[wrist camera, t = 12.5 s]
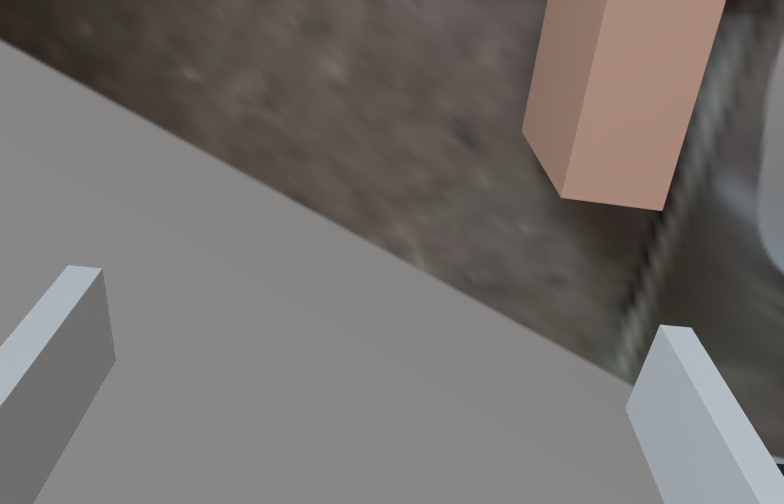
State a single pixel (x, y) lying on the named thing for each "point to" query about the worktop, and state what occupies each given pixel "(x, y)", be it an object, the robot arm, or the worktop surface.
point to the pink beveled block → (617, 94)
